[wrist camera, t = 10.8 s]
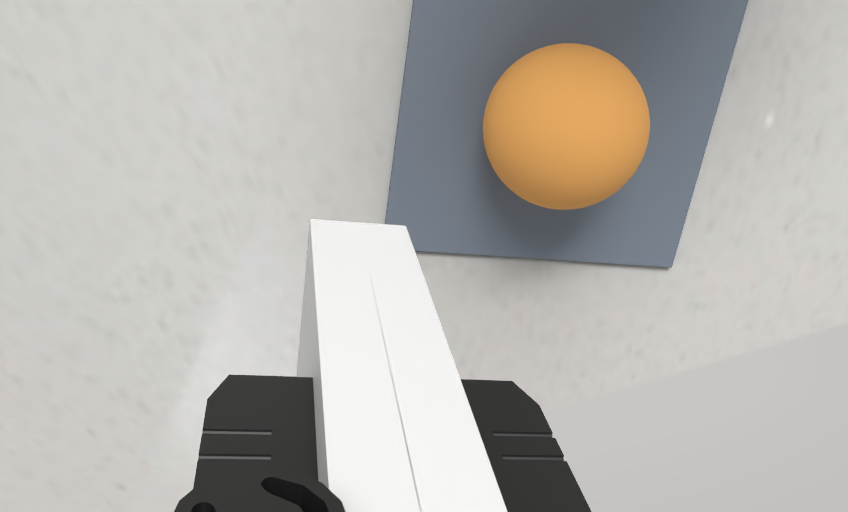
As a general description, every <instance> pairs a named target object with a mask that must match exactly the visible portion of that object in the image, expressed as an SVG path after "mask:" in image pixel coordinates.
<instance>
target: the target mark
mask: <svg viewBox="0 0 848 512" xmlns="http://www.w3.org/2000/svg"><path fill="white" fill-rule="evenodd" d="M747 3H748V0H413V7H412V15H411V23H410V31H409V39H408V46H407V54H406V62H405V70H404V78H403V86H402V94H401V101H400V109H399V117H398V125H397V133H396V141H395V149H394V157H393V164H392V172H391V180H390V188H389V196H388V204H387V212H386V219H385V224H389V225H403V226H406V228H407V231H408V233H409V236H410V239H411V242H412V245H413V247H414V250H415V251H426V252H441V253H457V254H472V255H487V256H503V257H518V258H533V259H549V260H564V261H579V262H595V263H610V264H625V265H641V266H656V267H671V268H672V265H673V261H674V258H675V254H676V251H677V247H678V244H679V240H680V237H681V233H682V230H683V226H684V223H685V219H686V216H687V212H688V209H689V205H690V202H691V198H692V195H693V191H694V188H695V184H696V181H697V177H698V174H699V170H700V167H701V163H702V160H703V156H704V153H705V149H706V146H707V142H708V139H709V135H710V132H711V128H712V125H713V121H714V118H715V114H716V111H717V108H718V104H719V101H720V97H721V94H722V90H723V87H724V83H725V80H726V76H727V73H728V69H729V66H730V62H731V59H732V55H733V52H734V48H735V45H736V41H737V38H738V34H739V31H740V27H741V24H742V20H743V17H744V13H745V10H746V6H747ZM561 43H575V44H583V45H588V46H592V47H595V48H598V49H600V50H602V51H604V52H607V53H609V54H610V55H612V56H613V57H615V58H617V59H618V60H619V61H620V62H622V63H623V64H624V65H625V66H626V67H627V68H628V69H629V70H630V71H631V73H632V74H633V75H634V76H635V78H636V79H637V81H638V83H639V84H640V86H641V88H642V90H643V92H644V95H645V97H646V101H647V105H648V109H649V116H650V132H649V140H648V145H647V148H646V151H645V154H644V157H643V159H642V161H641V163H640V165H639V166H638V168H637V170H636V172H635V173H634V174H633V176H632V177H631V178H630V179H629V180H628V182H627V183H626V184H625V185H624V186H623V187H621V188H620V189H619V190H618V191H617V192H616V193H614V194H613V195H611V196H610V197H608V198H606V199H605V200H603V201H600V202H598V203H596V204H594V205H590V206H587V207H584V208H578V209H570V210H557V209H549V208H545V207H541V206H538V205H535V204H533V203H530V202H528V201H526V200H524V199H523V198H521V197H519V196H518V195H516V194H515V193H514V192H513V191H511V190H510V189H509V188H508V187H507V186H506V185H505V184H504V183H503V182H502V181H501V179H500V178H499V177H498V175H497V174H496V172H495V171H494V169H493V167H492V165H491V163H490V161H489V159H488V156H487V153H486V149H485V146H484V138H483V119H484V113H485V108H486V105H487V102H488V99H489V96H490V94H491V92H492V90H493V88H494V86H495V84H496V83H497V81H498V80H499V79H500V77H501V76H502V75H503V73H504V72H505V71H506V70H507V69H508V68H509V67H510V66H511V65H512V64H513V63H515V62H516V61H517V60H519V59H520V58H522V57H523V56H525V55H526V54H528V53H530V52H532V51H535V50H537V49H539V48H542V47H546V46H549V45H554V44H561Z"/></svg>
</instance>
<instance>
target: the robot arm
mask: <svg viewBox="0 0 848 512" xmlns="http://www.w3.org/2000/svg"><path fill="white" fill-rule="evenodd" d="M563 457H564V455H563V453H562V451H561V449H560V447H559V445H558V443H557V441H556V439H555V438H552V431H551V429H550V427H549V425H548V423H547V420H546V419H545V416H544V414H543V412H542V410H541V408H540V406H539V405H538V404H537V403H536V402H535V401H534V400H533V399H532V398H530V397H529V396H528V395H527V394H526V393H525V392H524V391H523V390H521V389H520V388H519V387H518V386H517V385H516V384H515V383H514V382H512V381H493V380H463V379H460V377H459V374H458V371H457V368H456V366H455V363H454V360H453V357H452V354H451V351H450V349H449V346H448V343H447V340H446V337H445V335H444V332H443V329H442V326H441V323H440V321H439V318H438V315H437V312H436V309H435V306H434V304H433V301H432V298H431V295H430V292H429V290H428V287H427V284H426V281H425V278H424V276H423V273H422V270H421V267H420V264H419V261H418V259H417V256H416V253H415V250H414V247H413V245H412V242H411V239H410V236H409V233H408V231H407V228H406V226H403V225H389V224H375V223H361V222H347V221H333V220H319V219H310V227H309V238H308V250H307V261H306V273H305V284H304V296H303V307H302V319H301V330H300V342H299V353H298V365H297V377H285V376H254V375H229V376H228V377H227V378H226V379H225V380H224V381H223V382H222V383H221V385H220V386H219V387H218V388H217V389H216V390H215V391H214V392H213V394H212V395H211V396H210V397H209V398H208V399H207V406H206V412H205V418H204V425H203V434H202V437H201V444H200V450H199V459H198V463H197V469H196V475H195V482H194V488H193V490H192V491H191V492H189V493H188V494H187V495H186V496H185V497H183V498H182V499H181V500H180V501H179V503H178V505H177V507H176V509H175V511H174V512H591V510H590V508H589V506H588V504H587V502H586V500H585V498H584V496H583V494H582V492H581V490H580V488H579V486H578V484H577V482H576V480H575V477H574V475H573V474H572V471H571V469H570V467H569V465H568V463H567V462H566V461H564V459H563Z"/></svg>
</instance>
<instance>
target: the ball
mask: <svg viewBox="0 0 848 512" xmlns="http://www.w3.org/2000/svg"><path fill="white" fill-rule="evenodd" d="M649 132H650V116H649V109H648V105H647V101H646V97H645V95H644V92H643V90H642V88H641V86H640V84H639V83H638V81H637V79H636V78H635V76H634V75H633V74H632V73H631V71H630V70H629V69H628V68H627V67H626V66H625V65H624V64H623V63H622V62H620V61H619V60H618V59H617V58H615V57H613V56H612V55H610V54H609V53H607V52H604V51H602V50H600V49H598V48H595V47H592V46H588V45H583V44H575V43H561V44H554V45H549V46H546V47H542V48H539V49H537V50H535V51H532V52H530V53H528V54H526V55H525V56H523V57H522V58H520V59H519V60H517V61H516V62H515V63H513V64H512V65H511V66H510V67H509V68H508V69H507V70H506V71H505V72H504V73H503V75H502V76H501V77H500V79H499V80H498V81H497V83H496V84H495V86H494V88H493V90H492V92H491V94H490V96H489V99H488V102H487V105H486V108H485V113H484V119H483V138H484V146H485V149H486V153H487V156H488V159H489V161H490V163H491V165H492V167H493V169H494V171H495V172H496V174H497V175H498V177H499V178H500V179H501V181H502V182H503V183H504V184H505V185H506V186H507V187H508V188H509V189H510V190H511V191H513V192H514V193H515V194H516V195H518V196H519V197H521V198H523V199H524V200H526V201H528V202H530V203H533V204H535V205H538V206H541V207H545V208H549V209H557V210H570V209H578V208H584V207H587V206H590V205H594V204H596V203H598V202H600V201H603V200H605V199H606V198H608V197H610V196H611V195H613V194H614V193H616V192H617V191H618V190H619V189H620V188H621V187H623V186H624V185H625V184H626V183H627V182H628V180H629V179H630V178H631V177H632V176H633V174H634V173H635V172H636V170H637V168H638V166H639V165H640V163H641V161H642V159H643V157H644V154H645V151H646V148H647V145H648V140H649Z"/></svg>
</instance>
